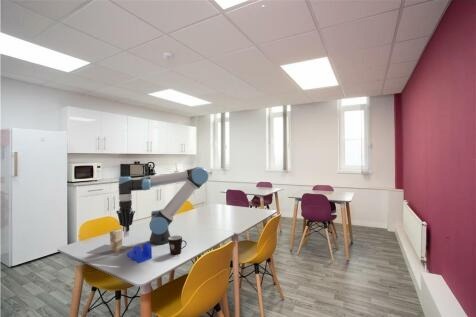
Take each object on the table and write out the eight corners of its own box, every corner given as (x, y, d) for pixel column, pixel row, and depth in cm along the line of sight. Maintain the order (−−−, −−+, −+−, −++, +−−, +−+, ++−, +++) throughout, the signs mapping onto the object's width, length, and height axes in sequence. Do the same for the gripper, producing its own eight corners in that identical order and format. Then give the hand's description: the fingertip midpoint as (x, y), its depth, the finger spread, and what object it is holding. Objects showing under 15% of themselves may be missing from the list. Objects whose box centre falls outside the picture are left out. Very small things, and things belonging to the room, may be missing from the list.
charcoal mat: (133, 247, 163) (133, 246, 163) (116, 256, 148) (116, 255, 148) (104, 245, 169) (104, 244, 169) (85, 254, 154) (85, 253, 154)
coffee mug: (166, 253, 150) (165, 237, 151) (178, 249, 156) (177, 234, 157) (175, 258, 142) (175, 242, 142) (187, 254, 148) (187, 238, 148)
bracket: (151, 258, 144) (151, 244, 144) (138, 263, 137) (138, 248, 137) (137, 251, 155) (137, 238, 155) (124, 256, 149) (124, 241, 149)
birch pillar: (122, 249, 159) (121, 229, 159) (116, 251, 154) (116, 232, 154) (116, 248, 160) (115, 229, 160) (110, 251, 155) (109, 231, 155)
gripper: (137, 199, 157) (138, 234, 157) (121, 199, 161) (122, 233, 160) (129, 201, 150) (130, 238, 150) (112, 201, 153) (113, 237, 153)
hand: (126, 236), depth 155 cm, fingers closed
